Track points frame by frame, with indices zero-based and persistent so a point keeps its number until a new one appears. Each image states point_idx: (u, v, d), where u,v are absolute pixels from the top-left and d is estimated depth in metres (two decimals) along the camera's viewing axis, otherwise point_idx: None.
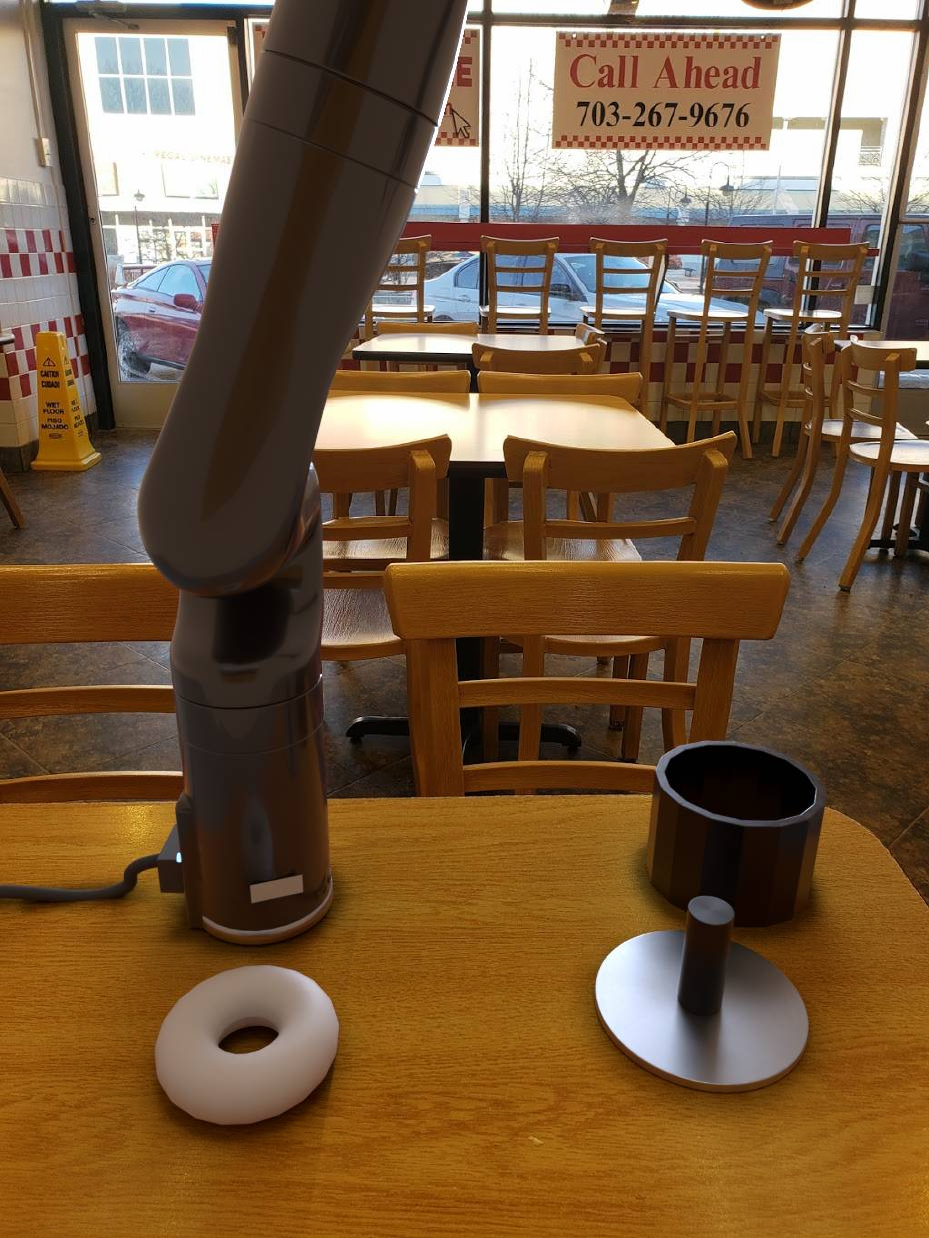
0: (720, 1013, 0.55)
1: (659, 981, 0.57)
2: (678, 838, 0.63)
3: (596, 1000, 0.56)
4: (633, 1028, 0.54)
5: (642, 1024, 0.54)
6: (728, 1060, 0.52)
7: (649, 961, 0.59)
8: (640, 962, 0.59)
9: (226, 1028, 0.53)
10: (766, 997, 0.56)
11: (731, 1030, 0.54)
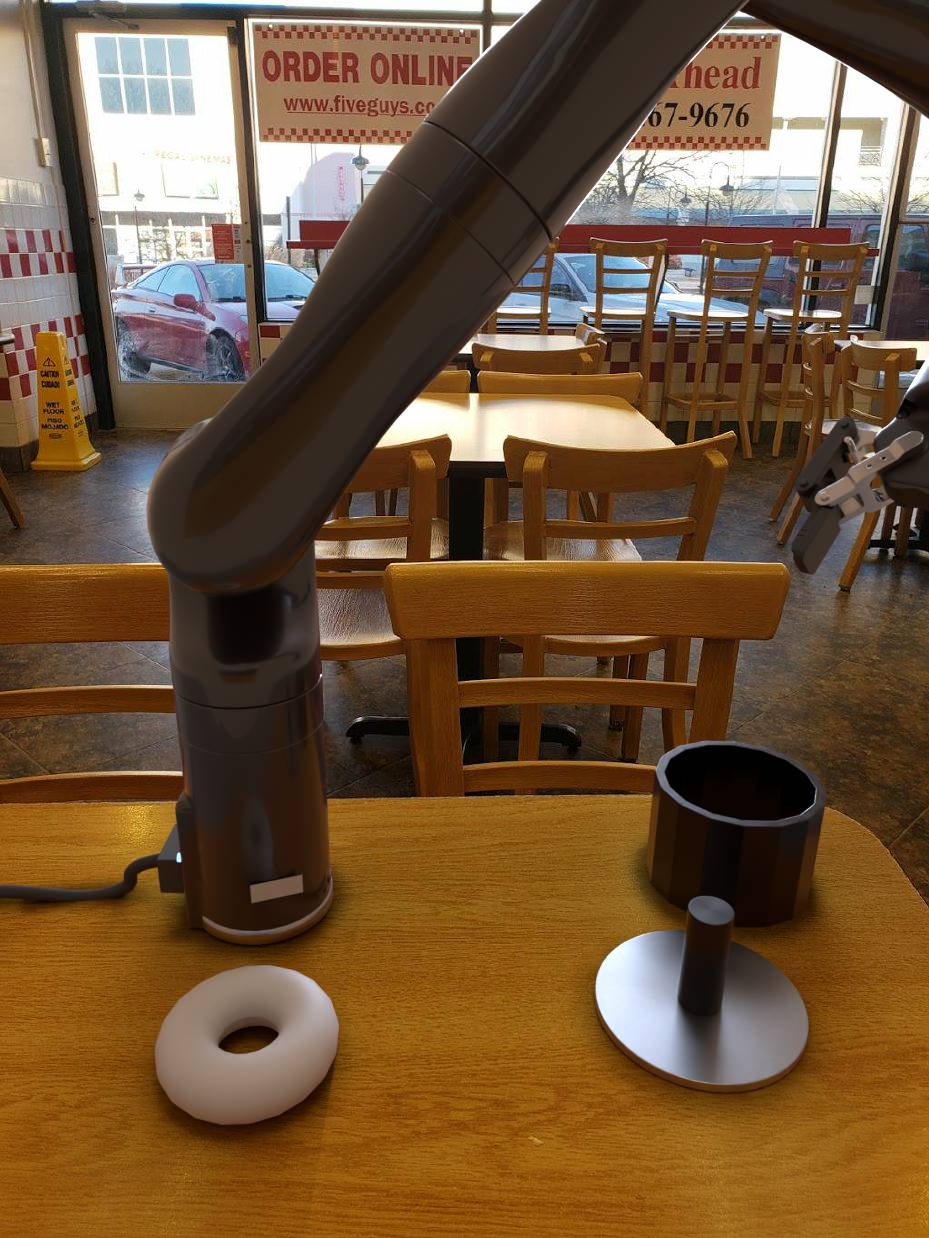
0: (720, 1013, 0.55)
1: (659, 981, 0.57)
2: (678, 838, 0.63)
3: (596, 1000, 0.56)
4: (633, 1028, 0.54)
5: (642, 1024, 0.54)
6: (728, 1060, 0.52)
7: (649, 961, 0.59)
8: (640, 962, 0.59)
9: (226, 1028, 0.53)
10: (766, 997, 0.56)
11: (731, 1030, 0.54)
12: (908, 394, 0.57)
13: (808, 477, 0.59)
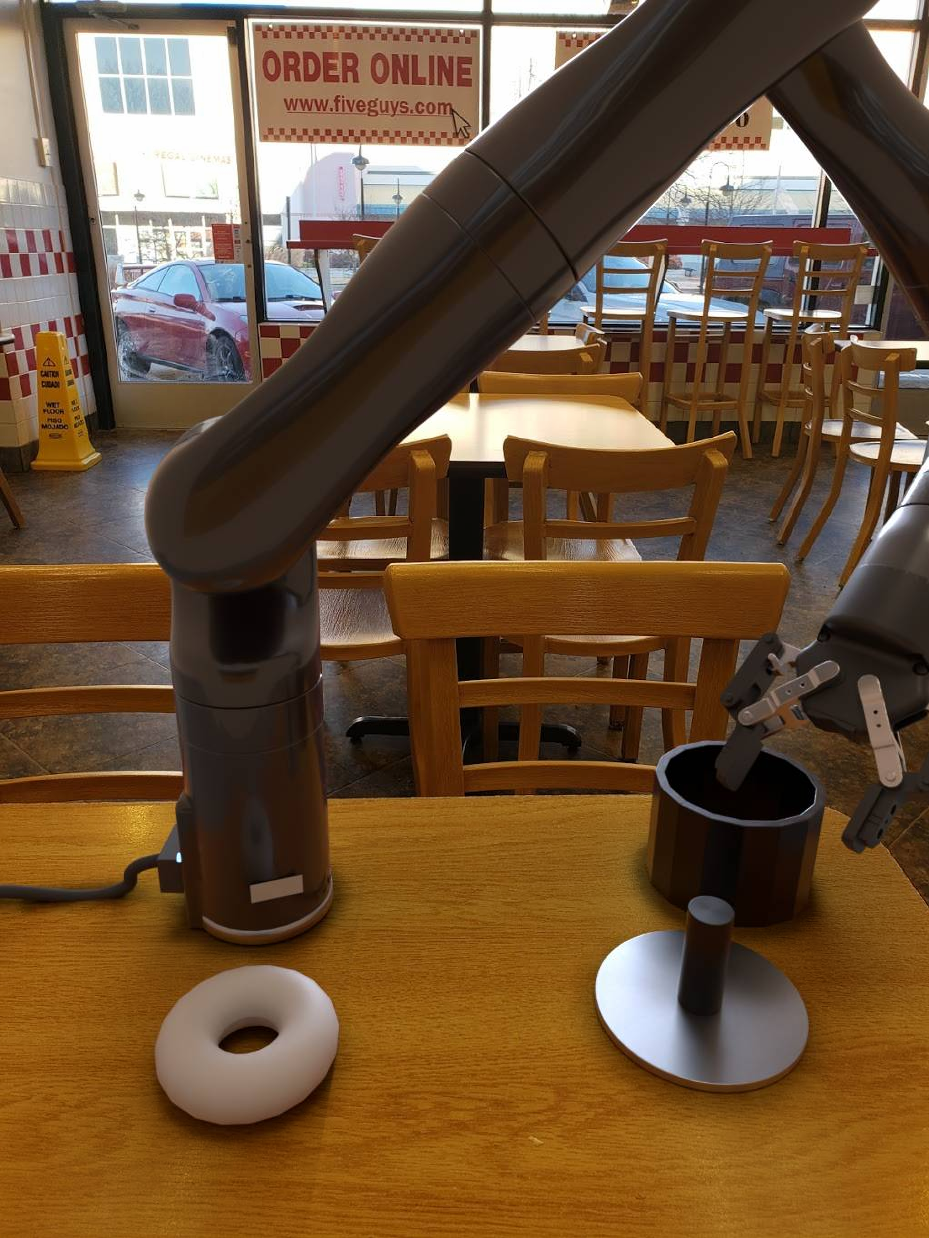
0: (720, 1013, 0.55)
1: (659, 981, 0.57)
2: (678, 838, 0.63)
3: (596, 1000, 0.56)
4: (633, 1028, 0.54)
5: (642, 1024, 0.54)
6: (728, 1060, 0.52)
7: (649, 961, 0.59)
8: (640, 962, 0.59)
9: (226, 1028, 0.53)
10: (766, 997, 0.56)
11: (731, 1030, 0.54)
12: (827, 621, 0.59)
13: (733, 692, 0.61)
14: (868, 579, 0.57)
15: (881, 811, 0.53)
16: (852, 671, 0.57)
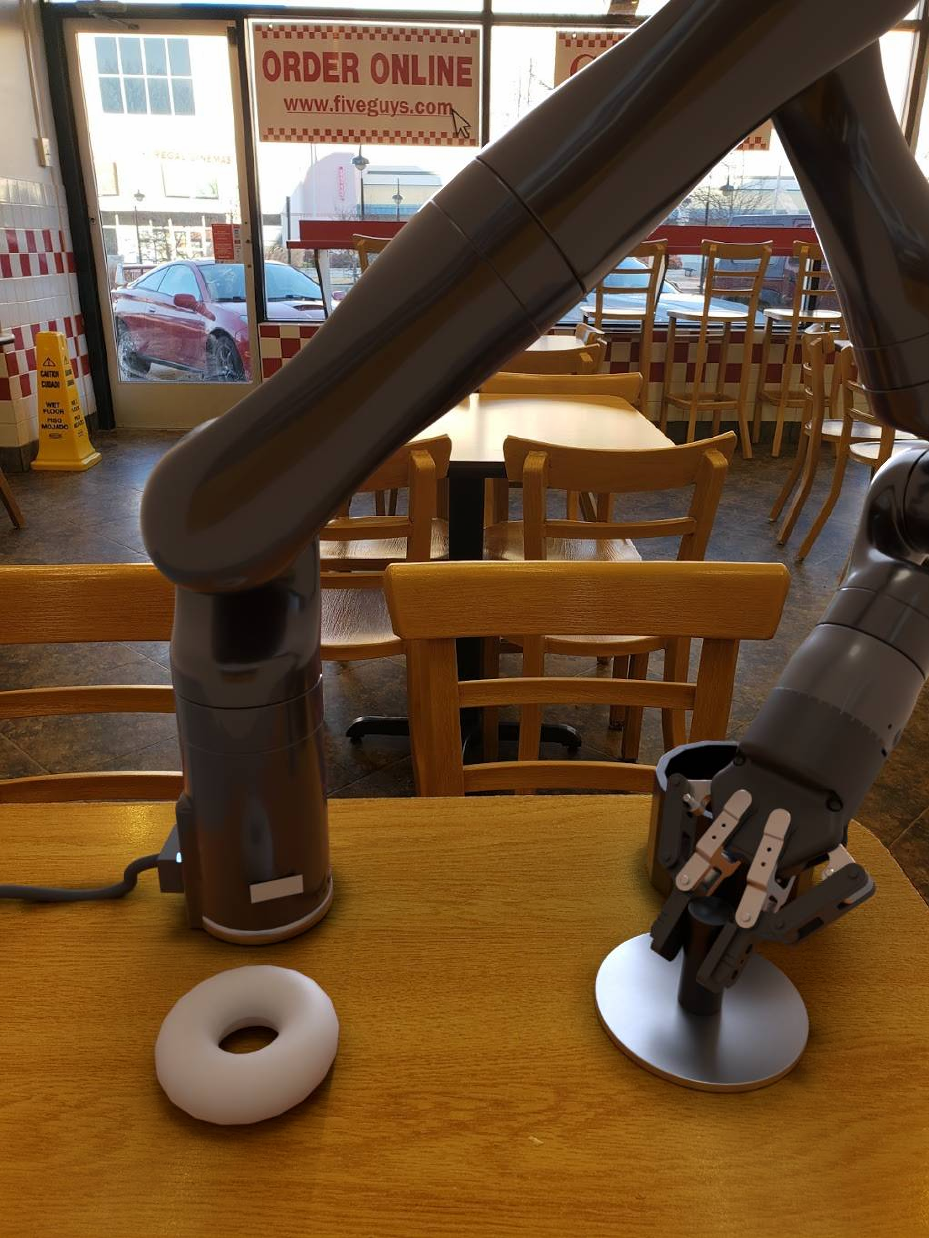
0: (720, 1013, 0.55)
1: (659, 981, 0.57)
2: None
3: (596, 1000, 0.56)
4: (633, 1028, 0.54)
5: (642, 1024, 0.54)
6: (728, 1060, 0.52)
7: (649, 961, 0.59)
8: (640, 962, 0.59)
9: (226, 1028, 0.53)
10: (766, 997, 0.56)
11: (731, 1030, 0.54)
12: (741, 746, 0.56)
13: (668, 849, 0.57)
14: (782, 705, 0.55)
15: (735, 952, 0.52)
16: (766, 802, 0.55)
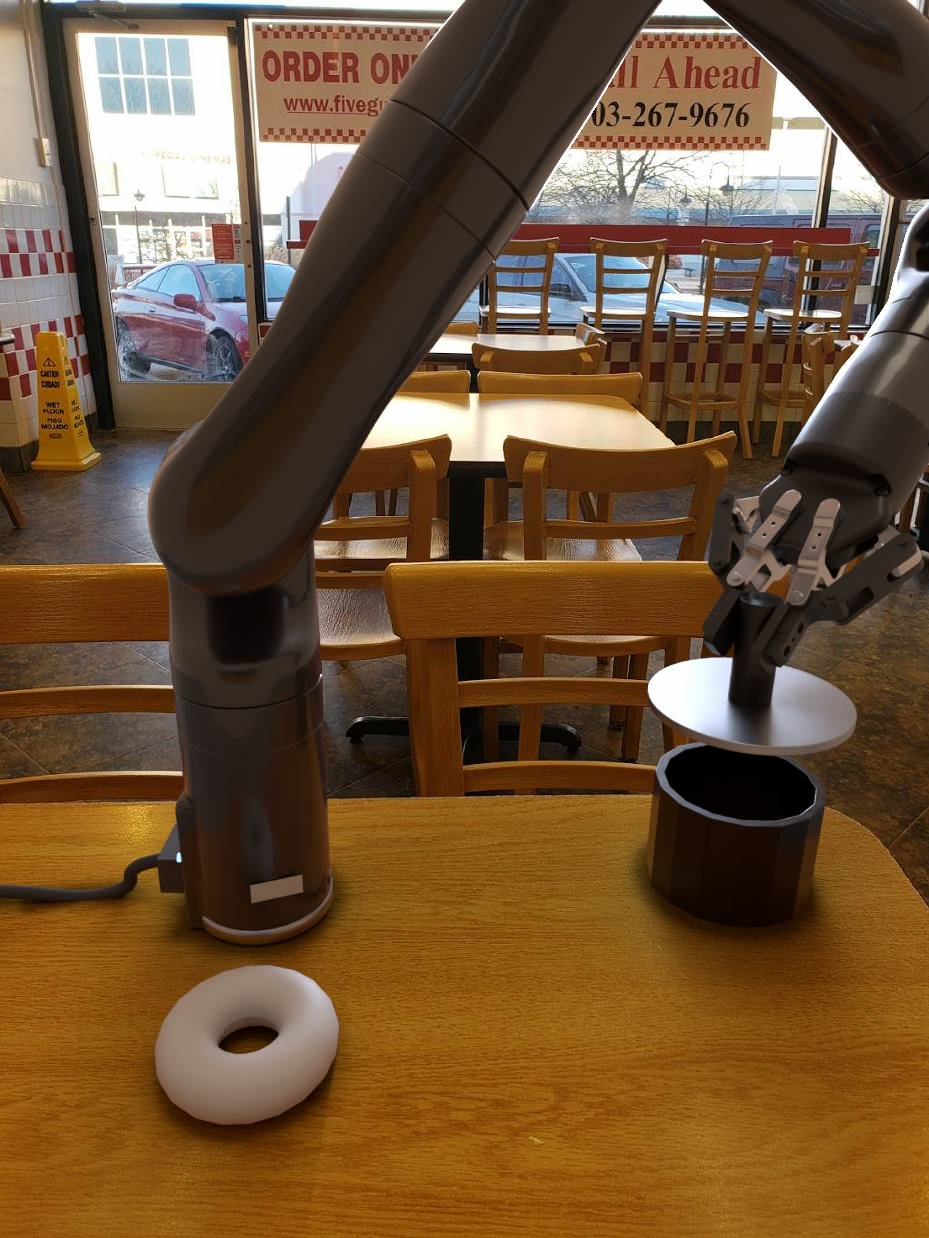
0: (770, 706, 0.57)
1: (709, 687, 0.59)
2: (678, 838, 0.63)
3: (649, 698, 0.58)
4: (687, 714, 0.56)
5: (695, 712, 0.56)
6: (780, 733, 0.54)
7: (698, 675, 0.61)
8: (690, 676, 0.61)
9: (226, 1028, 0.53)
10: (814, 697, 0.58)
11: (782, 716, 0.56)
12: (789, 453, 0.58)
13: (718, 555, 0.58)
14: (830, 406, 0.57)
15: (787, 628, 0.54)
16: (814, 500, 0.57)
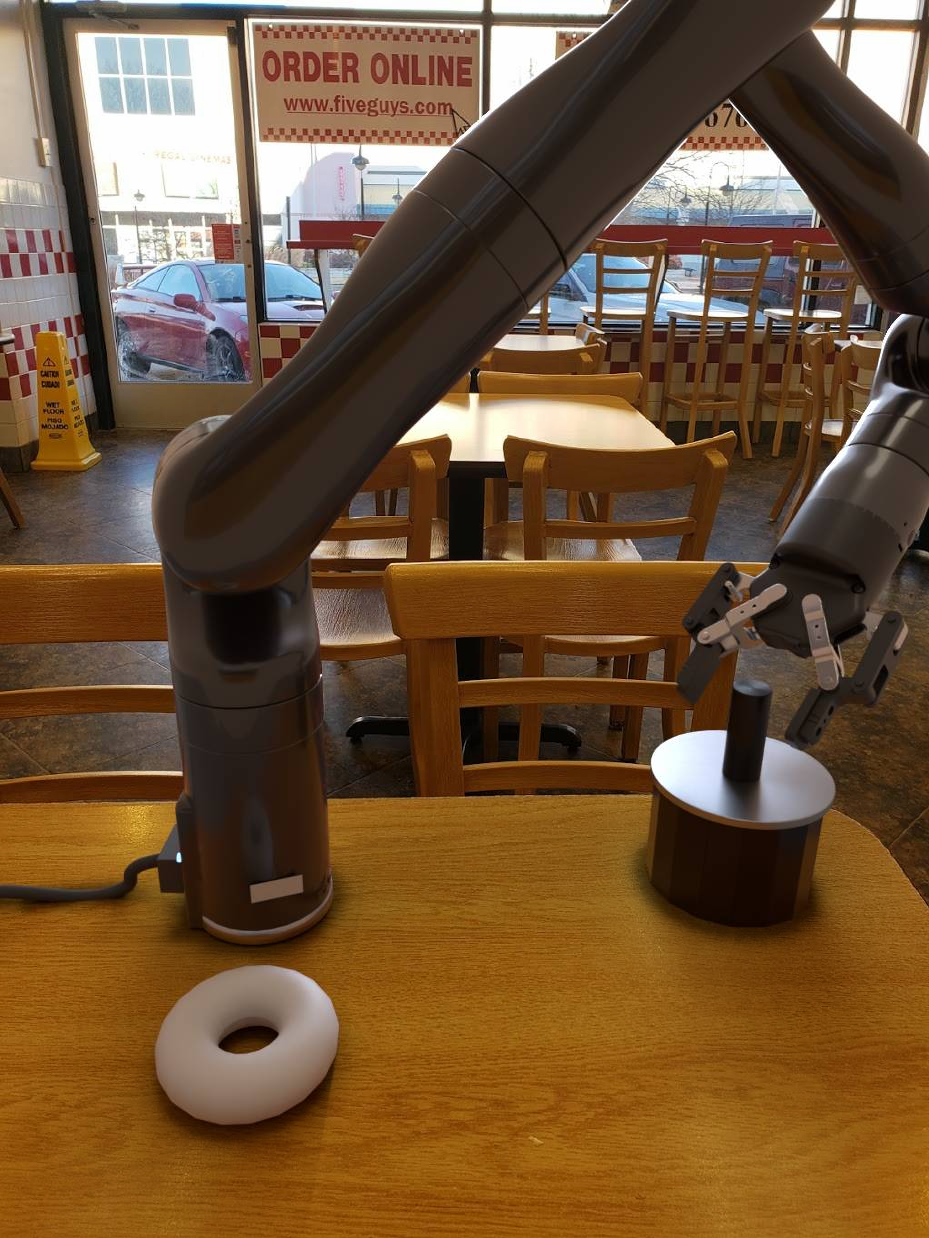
0: (759, 780, 0.64)
1: (705, 761, 0.67)
2: (678, 838, 0.63)
3: (652, 772, 0.65)
4: (686, 789, 0.63)
5: (693, 786, 0.63)
6: (768, 808, 0.61)
7: (696, 749, 0.68)
8: (688, 749, 0.68)
9: (226, 1028, 0.53)
10: (798, 771, 0.66)
11: (769, 790, 0.63)
12: (776, 549, 0.65)
13: (693, 616, 0.68)
14: (812, 510, 0.64)
15: (819, 711, 0.59)
16: (798, 593, 0.64)
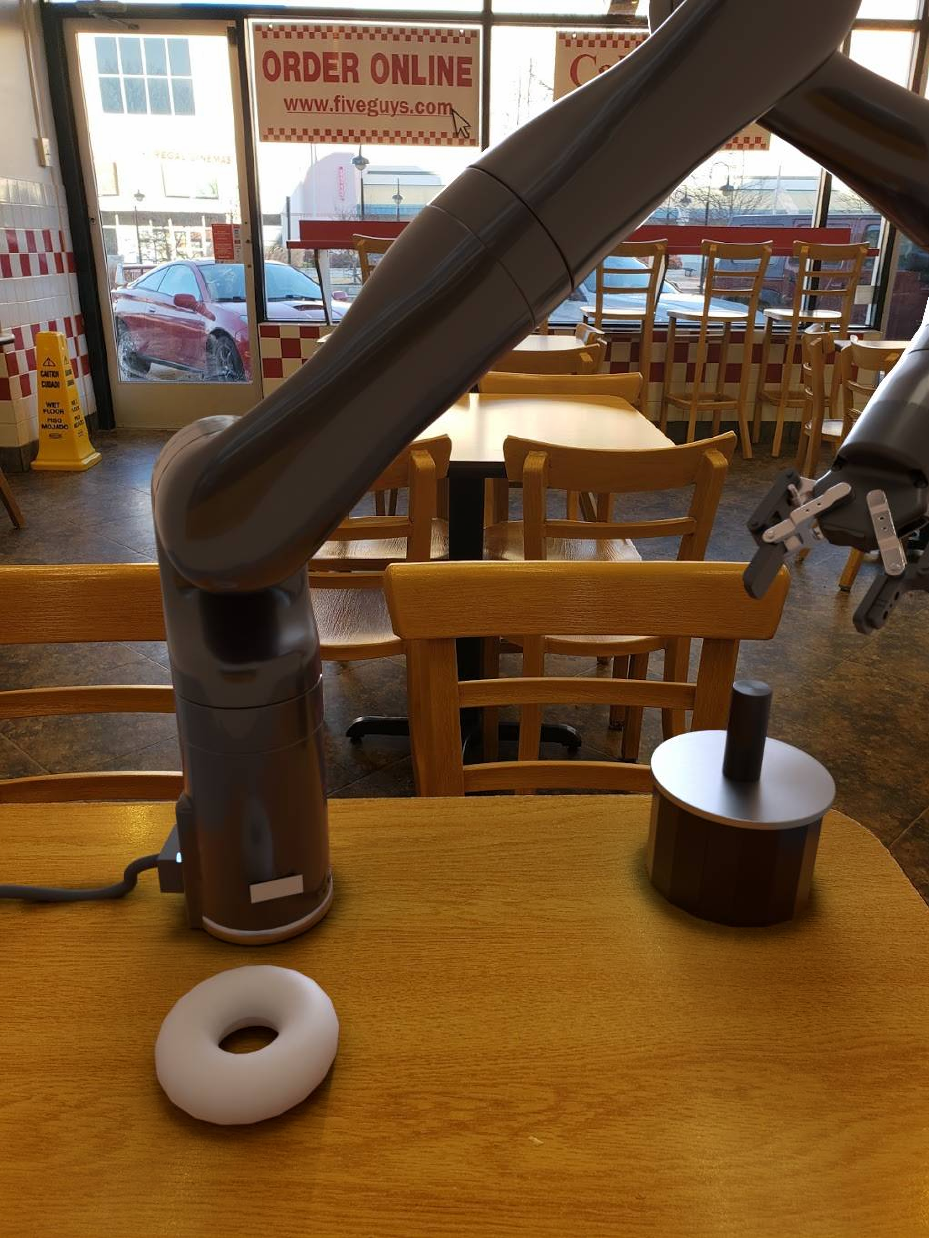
0: (759, 780, 0.64)
1: (705, 761, 0.67)
2: (678, 838, 0.63)
3: (652, 772, 0.65)
4: (686, 789, 0.63)
5: (693, 786, 0.63)
6: (768, 808, 0.61)
7: (696, 749, 0.68)
8: (688, 749, 0.68)
9: (226, 1028, 0.53)
10: (798, 771, 0.66)
11: (769, 790, 0.63)
12: (840, 451, 0.68)
13: (758, 518, 0.71)
14: (876, 412, 0.67)
15: (886, 596, 0.62)
16: (862, 491, 0.67)
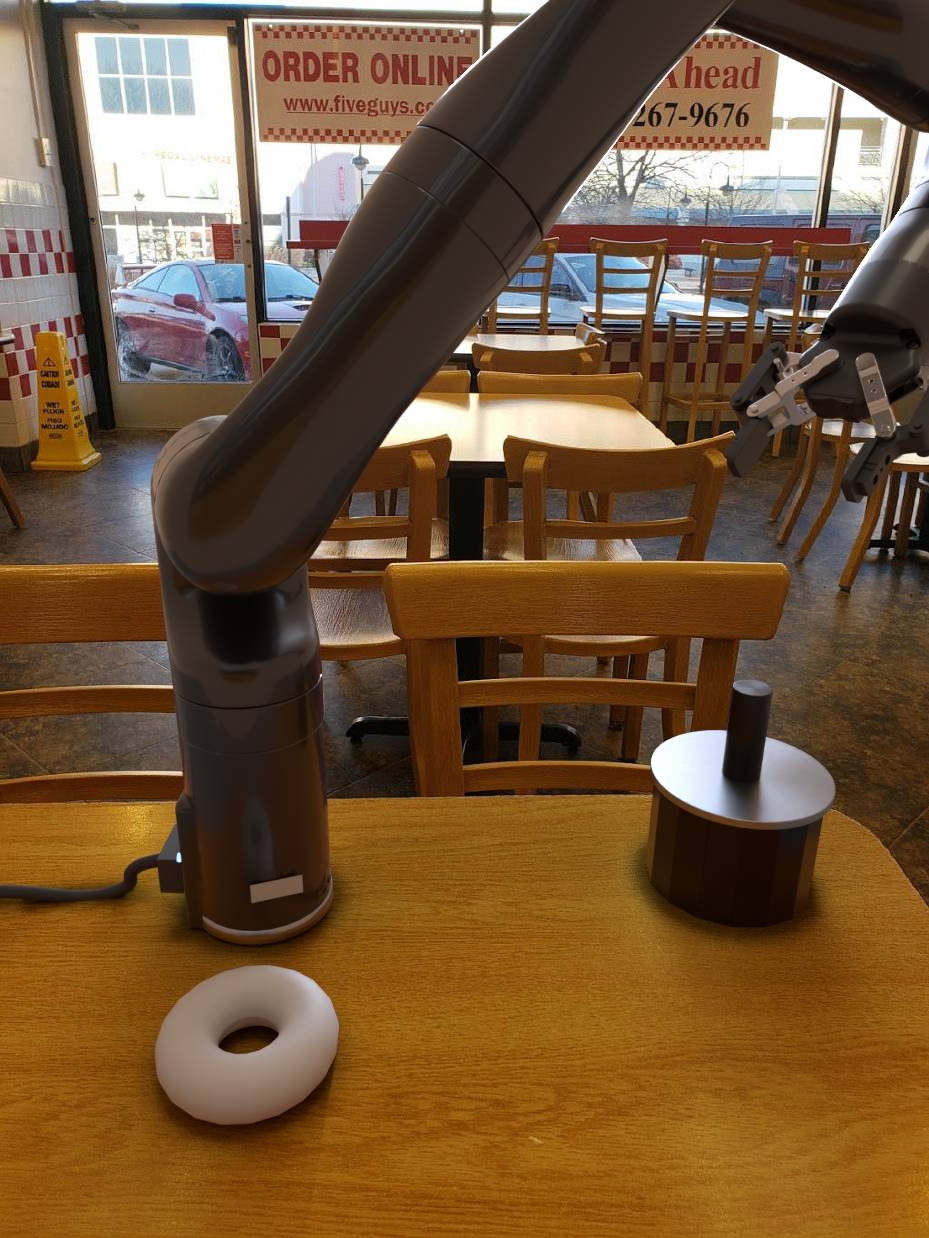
0: (759, 780, 0.64)
1: (705, 761, 0.67)
2: (678, 838, 0.63)
3: (652, 772, 0.65)
4: (686, 789, 0.63)
5: (693, 786, 0.63)
6: (768, 808, 0.61)
7: (696, 749, 0.68)
8: (688, 749, 0.68)
9: (226, 1028, 0.53)
10: (798, 771, 0.66)
11: (769, 790, 0.63)
12: (827, 318, 0.64)
13: (741, 394, 0.67)
14: (865, 273, 0.63)
15: (876, 458, 0.58)
16: (850, 358, 0.63)
